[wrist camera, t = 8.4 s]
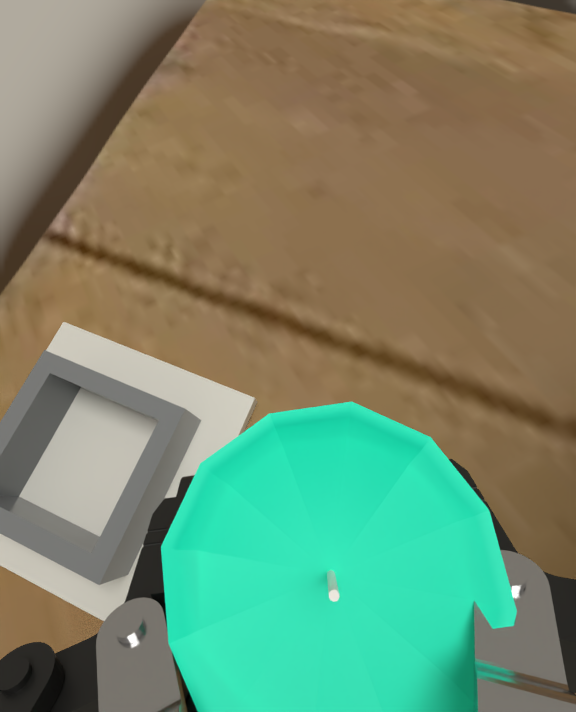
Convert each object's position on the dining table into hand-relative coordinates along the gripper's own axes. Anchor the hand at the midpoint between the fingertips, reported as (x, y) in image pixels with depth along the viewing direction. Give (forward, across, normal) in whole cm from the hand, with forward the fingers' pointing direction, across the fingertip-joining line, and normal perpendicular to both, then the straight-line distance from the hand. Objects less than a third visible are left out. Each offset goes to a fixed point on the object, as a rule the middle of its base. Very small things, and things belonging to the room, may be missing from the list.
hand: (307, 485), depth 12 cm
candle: (+3, 0, +6) cm, 6 cm away
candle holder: (+16, +14, +10) cm, 23 cm away
